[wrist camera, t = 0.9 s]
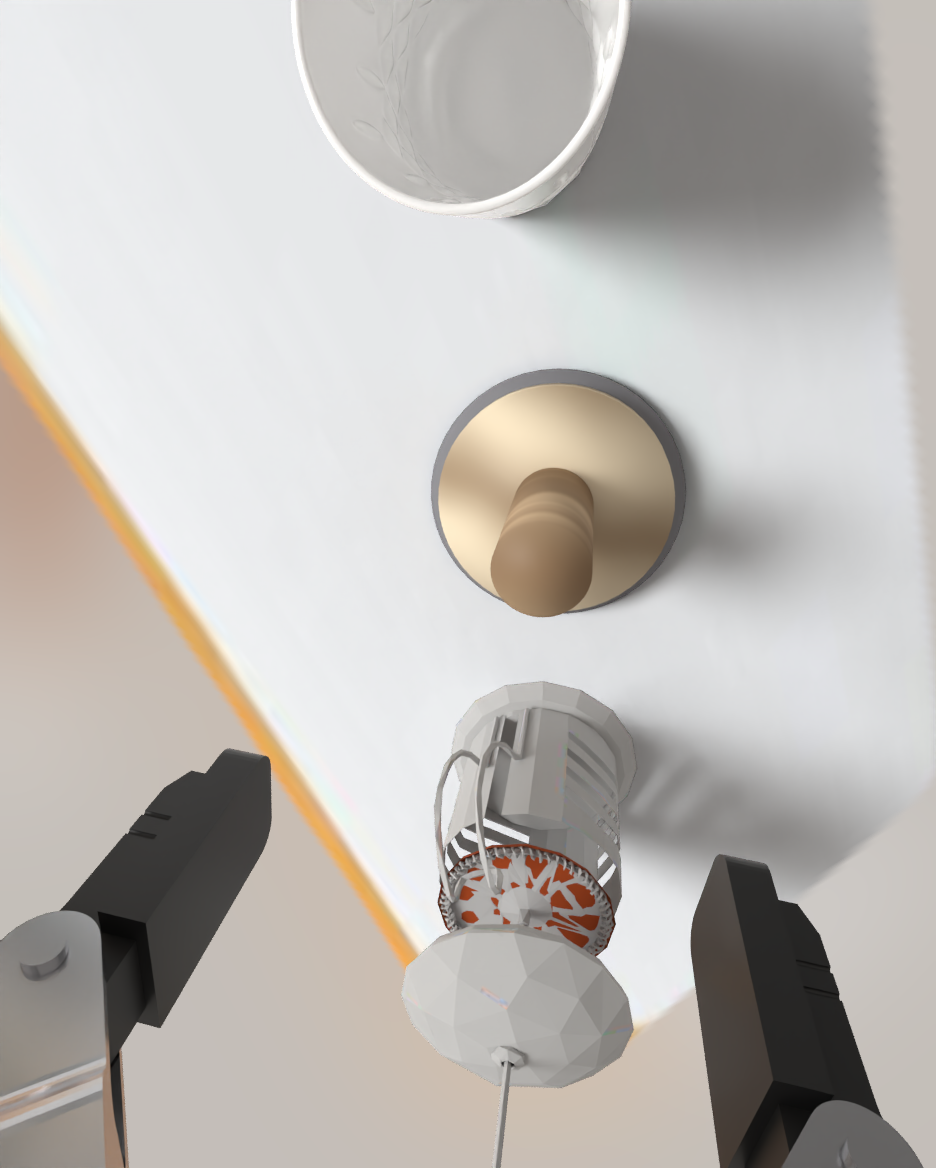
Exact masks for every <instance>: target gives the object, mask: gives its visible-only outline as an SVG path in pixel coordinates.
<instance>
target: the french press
mask: <svg viewBox="0 0 936 1168" xmlns="http://www.w3.org/2000/svg"><path fill="white" fill-rule="evenodd" d="M451 754H452V756H451V757H450V758H449V759H448V761H447V762H446V763H445V765H444V768H443V771H442V774H441V778H440V781H439V784H438V788H437V793H436V799H435V805H434V815H435V837H436V848H437V859H438V868H439V871H440V885H441V888H440V893H439V898H438V906H439V909H440V911H441V914H442V917H443V920H444V923H445V926H446V928H447V929H448V930H449V931H450V932H451V933H448V934H445V935H442V936H440V937H439V938H438V939H436V940H435V941H434V942H433V943H432V944H431V945H430V946H429V947H428V948H427V949H425V950H424V951H423V952H422V953H421V954H420V955H419V956H418V957H417V958H416V959H415V960H414V961H412V962H411V963H410V964H409V965H408V966H407V967H406V972H405V977H404V983H403V988H402V993H401V996H402V999H403V1001H404V1004H405V1007H406V1010H407V1012H408V1015H409V1018H410V1020H411V1023H412V1025H413V1026H414V1027H415V1028H416V1029H417V1030H418V1031H419V1032H420V1033H421V1034H422V1035H423V1037H424V1038H425V1039H426V1040H427V1041H428V1042H429V1043H430V1044H431V1045H432V1046H433V1047H434V1048H435V1050H436V1051H438V1053H439V1054H440V1055H441V1056H444V1057H445V1058H447V1059H449V1060H450V1061H452V1062H454V1063H456V1064H458V1065H459V1066H461V1067H463V1068H465V1069H467V1070H469V1071H470V1072H472V1073H474V1074H476V1075H478V1076H479V1077H481V1078H483V1079H485V1080H487V1081H489V1082H490V1083H492V1084H494V1085H496V1086H501V1094H500V1103H499V1112H498V1120H497V1129H496V1137H495V1146H494V1154H493V1163H492V1168H500V1167H501V1157H502V1148H503V1139H504V1129H505V1120H506V1111H507V1101H508V1092H509V1086H515V1087H544V1088H545V1087H546V1088H562V1087H565V1086H568V1085H570V1084H573V1083H575V1082H578V1081H580V1080H583V1079H585V1078H588V1077H591V1076H593V1075H594V1074H596V1073H597V1072H599V1071H601V1070H602V1069H603V1068H605V1067H606V1066H608V1065H609V1064H611V1063H612V1062H614V1061H615V1060H617V1059H618V1058H620V1057H621V1055H622V1053H623V1051H624V1049H625V1047H626V1045H627V1043H628V1041H629V1039H630V1036H631V1034H632V1032H633V1030H634V1029H633V1023H632V1018H631V1012H630V1007H629V1001H628V997H627V996H626V994H625V992H624V991H623V989H622V987H621V986H620V985H619V984H618V982H617V981H616V980H615V979H614V977H613V976H612V975H611V973H610V972H609V971H608V970H607V968H606V967H605V966H604V965H603V963H602V962H601V961H600V960H599V959H598V958H597V957H596V956H597V955H598V954H600V953H601V952H602V951H603V950H604V949H606V948H607V946H608V943H609V941H610V938H611V935H612V933H613V930H614V927H615V925H616V923H615V918H614V916H615V913H616V910H617V908H618V905H619V902H620V900H621V897H622V889H621V858H620V853H619V850H620V837H619V814H618V809H619V806H618V804H619V803H620V802H621V801H623V800H624V799H625V798H626V797H627V795H628V792H629V789H630V787H631V784H632V781H633V778H634V775H635V772H636V770H637V766H636V760H635V753H634V747H633V741H632V737H631V736H630V735H629V733H628V732H627V730H626V729H625V728H624V726H623V725H622V723H621V722H620V721H619V719H618V718H617V716H616V715H615V714H614V712H613V711H612V710H611V709H609V708H608V707H606V706H605V705H603V704H601V703H600V702H598V701H597V700H595V699H594V698H592V697H590V696H589V695H587V694H586V693H584V692H583V691H581V690H577V689H573V688H569V687H564V686H560V685H556V684H552V683H547V682H534V683H524V684H514V685H506V686H504V687H502V688H500V689H498V690H496V691H494V692H492V693H490V694H488V695H486V696H484V697H482V698H480V699H478V700H476V701H475V702H474V703H473V705H472V706H471V707H470V708H469V710H468V711H467V712H466V713H465V715H464V716H463V717H462V718H461V720H460V721H459V722H458V723H457V725H456V730H455V735H454V740H453V746H452V751H451ZM453 762H454V764H455V768H456V771H457V775H458V778H459V781H460V782H461V783H460V788H459V792H458V795H457V798H456V802H455V806H454V811H453V814H452V818H451V821H450V824H449V828H448V833H447V836H446V839H445V843H444V847H443V844H442V834H441V805H442V791H443V787H444V784H445V781H446V778H447V775H448V772H449V770H450V768H451V766H452V764H453ZM612 810H613V811H612ZM611 811H612V813H611V815H609V813H610V812H611ZM615 816H616V817H617V822H615V821H614V818H615ZM484 818H486V819H488V820H490V821H493V822H495V823H498V824H500V825H503V826H505V827H508V828H510V829H513V830H515V831H517V832H520V833H522V834H525V835H527V836H530V837H529V844H527V843H524V842H522V841H519V840H517V839H514V838H512V837H509V836H507V835H504V834H502V833H499V832H497V831H495V830H492V829H490V828H487V827H484V826H483V819H484ZM600 819H603V820H604V821H605V822H604V823H603V824H602V826H601V827H599V826H598V821H599V820H600ZM609 827H610V828H611V829H612V832H611V834H610V835H609V836H608V835H607V834H606V833H605V831H606V830H607V829H608V828H609ZM462 828H465V829H467V830H469V831H472V832H474V833H476V834H477V840H478V843H476V842H473V841H471V840H468V839H465V838H464V837H463V835H462V833H461V832H460V831H461V830H462ZM616 835H617V839H618V841H617V843H616V844H615V843H614V842H613V840H614V838H615V836H616ZM454 837H455V839H456V841H457V843H458V845H459V847H460V848H462V849H465V850H467V851H469V852H471V854H469V855H466V856H464V857H463V858H462V859H461V858H459V857H458V855H457V853H456V851H455V849H454V848H453V846H452V844H451V840H452V839H453V838H454ZM484 837H485V838H487V839H490V840H492V841H495V842H498V843H500V844H503V845H491V846H489V847H486V846H485V839H484ZM598 845H599V846H600V847H599V848H598ZM446 846H447V854H448V856H449V858H450V860H451V861H452V863H453V865H454V867H453V868H452V869H451V870H450V871H448V869H447V867H446V866H445V850H446ZM604 852H606V853H607V854H608V856H609V857H608V858H607V859H606V860H605V862H604V863H603V864H602V865H601V866H600V867H599V869H598V859H599V858H600V857H601V856H602V855H603V853H604ZM613 863H614V864H615V866H616V869H615V871H614V873H613V875H612V877H611V878H610V879H609V880H608V881H607V882H606V883H605V885H604V886H603V887H601V886H600V884H599V883H598V880H599V879H600V878H601V877H602V876H603V875H604V874H605V872H606V871H607V870H608V869H609V868H610V867H611V865H612V864H613Z"/></svg>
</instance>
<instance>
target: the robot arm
mask: <svg viewBox="0 0 936 1168" xmlns="http://www.w3.org/2000/svg"><path fill="white" fill-rule="evenodd" d="M271 818H272V816H271V764H270V760H269V758H268V757H267V756H263V755H258V754H253V753H249V752H244V751H239V750H234V749H230V748H229V749H226V750H224V751H223V752H222V753H221V755H220V756H219V757H218V758H217V759H216V761H215V762H214V763H213V765H212V766H211V767H210V769H209V770H208V771H207V773H205V774H204V773H199V772H195V771H191V772H189V773H187V774H186V775H184V776H182V777H181V778H179V779H178V780H176V781H174V782H173V783H171V784H170V785H168V786H166V787H165V788H164V789H163V790H162V791H161V792H160V793H159V795H158V796H157V797H156V798H155V799H154V801H153V802H152V803H151V804H150V805H149V807H148V808H147V809H146V810H145V814H144V815H141V816H140V817H139V818H138V820H137V821H136V822H135V823H134V825H133V826H132V827H131V828H130V831H129V833H128V834H125V835H124V836H123V838H122V839H121V840H120V841H119V842H118V843H117V844H116V846H115V847H114V848H113V849H112V850H111V852H110V853H109V854H108V855H107V856H106V857H105V859H104V860H103V861H102V862H101V863H100V865H99V866H98V867H97V868H96V869H95V870H94V872H93V873H92V874H91V875H90V877H89V878H88V879H87V880H86V881H85V882H84V884H83V885H82V886H81V887H80V888H79V889H78V891H77V892H76V893H75V894H74V896H73V897H72V898H71V899H70V900H69V901H68V902H67V903H66V905H65V906H64V907H63V908H62V909H61V910H60V911H56V912H51V913H47V914H43V915H40V916H37V917H35V918H33V919H31V920H28V921H26V922H25V923H23V924H21V925H20V926H18V927H16V928H15V929H14V930H13V931H11V932H10V933H8V934H7V935H6V936H5V937H4V938H3V939H2V940H0V1168H129V1163H128V1147H127V1129H126V1113H125V1097H124V1081H123V1066H122V1065H123V1064H122V1051H121V1047H122V1045H123V1044H124V1042H125V1040H126V1039H127V1037H128V1036H129V1034H130V1032H131V1031H132V1029H133V1027H134V1026H135V1024H136V1023H137V1022H139V1023H143V1024H147V1025H151V1026H154V1027H158V1028H161V1026H162V1024H163V1022H164V1021H165V1019H166V1017H167V1016H168V1014H169V1012H170V1010H171V1008H172V1007H173V1005H174V1004H175V1002H176V1000H177V998H178V997H179V995H180V993H181V992H182V990H183V988H184V986H185V984H186V983H187V981H188V979H189V978H190V976H191V974H192V972H193V971H194V969H195V967H196V966H197V964H198V962H199V961H200V959H201V957H202V955H203V953H204V952H205V950H206V948H207V947H208V945H209V943H210V942H211V940H212V938H213V936H214V935H215V933H216V931H217V930H218V928H219V926H220V924H221V923H222V921H223V919H224V917H225V916H226V914H227V912H228V910H229V909H230V907H231V905H232V904H233V902H234V900H235V899H236V897H237V895H238V893H239V892H240V890H241V888H242V886H243V885H244V883H245V881H246V880H247V878H248V876H249V874H250V873H251V871H252V869H253V868H254V866H255V864H256V862H257V861H258V859H259V857H260V855H261V854H262V852H263V849H264V847H265V845H266V842H267V839H268V836H269V832H270V827H271ZM691 957H692V964H693V972H694V979H695V986H696V994H697V1001H698V1008H699V1016H700V1023H701V1030H702V1038H703V1045H704V1052H705V1060H706V1067H707V1074H708V1081H709V1089H710V1096H711V1103H712V1110H713V1118H714V1125H715V1133H716V1140H717V1148H718V1155H719V1162H720V1168H923V1166H922V1164H921V1163H920V1161H919V1159H918V1157H917V1156H916V1154H915V1152H914V1151H913V1150H912V1148H911V1147H910V1146H909V1144H908V1143H907V1142H906V1141H905V1140H904V1138H903V1137H902V1136H901V1135H900V1134H899V1133H898V1132H897V1131H896V1130H895V1129H894V1128H893V1127H892V1126H891V1125H890V1124H889V1123H887V1122H886V1121H885V1120H883V1118H882V1116H881V1114H880V1112H879V1109H878V1107H877V1104H876V1101H875V1098H874V1095H873V1092H872V1089H871V1086H870V1083H869V1080H868V1077H867V1075H866V1072H865V1069H864V1066H863V1062H862V1060H861V1057H860V1054H859V1051H858V1048H857V1045H856V1042H855V1039H854V1036H853V1033H852V1030H851V1027H850V1024H849V1021H848V1018H847V1015H846V1012H845V1009H844V1006H843V1003H842V1001H840V1000H839V991H838V988H837V985H836V982H835V979H834V976H833V974H832V973H830V964H829V961H828V958H827V955H826V952H825V949H824V946H823V943H822V940H821V937H820V935H819V933H818V932H817V931H816V929H815V928H814V926H813V925H812V924H811V922H810V921H809V920H808V918H807V917H806V915H805V914H804V913H803V911H802V910H801V909H800V907H799V906H798V904H794V903H790V902H785V901H780V900H778V897H777V894H776V890H775V887H774V883H773V880H772V876H771V873H770V870H769V868H768V866H767V865H766V864H764V863H760V862H755V861H750V860H746V859H741V858H736V857H731V856H727V855H722V854H719V855H718V856H717V857H716V858H715V860H714V862H713V865H712V868H711V870H710V873H709V876H708V879H707V881H706V884H705V887H704V889H703V892H702V895H701V898H700V900H699V903H698V906H697V908H696V911H695V914H694V918H693V922H692V929H691Z"/></svg>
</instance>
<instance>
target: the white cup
mask: <svg viewBox="0 0 936 1168" xmlns="http://www.w3.org/2000/svg"><path fill="white" fill-rule="evenodd" d="M630 14H631V0H291V15H292V31H293V40H294V47H295V53H296V58H297V63H298V68H299V72H300V76H301V79H302V83H303V86H304V89H305V92H306V95H307V97H308V100H309V102H310V105H311V107H312V110H313V112H314V114H315V116H316V118H317V120H318V122H319V124H320V126H321V128H322V130H323V131H324V133H325V135H326V137H327V138H328V140H329V141H330V143H331V144H332V146H333V147H334V149H335V150H336V151H337V153H338V154H339V155H340V156H341V158H342V159H343V160H344V161H345V162H346V164H347V165H348V166H349V167H350V168H351V169H352V170H353V171H354V172H355V173H356V174H357V175H358V176H359V177H360V178H361V179H363V180H364V181H365V182H366V183H367V184H369V185H370V186H371V187H373V188H374V189H375V190H377V191H378V192H380V193H381V194H383V195H385V196H386V197H388V198H390V199H392V200H394V201H396V202H398V203H400V204H402V205H405V206H407V207H410V208H413V209H416V210H420V211H423V212H428V213H433V214H440V215H450V216H457V217H463V218H472V219H496V218H504V217H511V216H515V215H520V214H523V213H525V212H528V211H530V210H533V209H536V208H539V207H543V206H545V205H547V204H548V203H549V202H550V201H551V200H552V199H553V198H554V197H555V196H556V195H557V194H559V193H560V192H561V191H562V190H563V189H564V188H565V187H566V186H567V185H568V184H569V183H570V182H571V181H572V180H574V179H575V178H576V177H577V176H578V175H579V173H580V171H581V169H582V166H583V164H584V163H585V161H586V160H587V158H588V156H589V155H590V153H591V151H592V149H593V147H594V145H595V143H596V141H597V139H598V137H599V134H600V132H601V129H602V127H603V124H604V121H605V119H606V116H607V113H608V109H609V106H610V103H611V99H612V95H613V91H614V88H615V84H616V80H617V77H618V73H619V70H620V67H621V63H622V59H623V55H624V51H625V47H626V42H627V36H628V30H629V23H630Z"/></svg>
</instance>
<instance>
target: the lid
mask: <svg viewBox="0 0 936 1168" xmlns="http://www.w3.org/2000/svg"><path fill="white" fill-rule="evenodd" d="M438 505H439V514H440V520H441V524H442V528H443V532H444V534H445V537H446V539H447V542H448V545H449V546H450V548H451V550H452V552H453V554H454V556H455V557H456V559H457V560H458V561H459V563H460V564H461V566H462V567H463V568H464V569H465V570H466V572H467V573H468V574H469V575H470V576H471V577H472V578H473V579H474V580H475V581H476V582H478V583H479V584H480V585H481V586H482V587H484V588H485V589H487V590H488V591H490V592H491V593H493V594H494V595H496V596H498V597H500V598H502V599H503V600H504V602H505V603H507V604H508V605H509V606H510V607H512V608H513V609H515V610H517V611H519V612H521V613H523V614H526V615H530V616H535V617H551V616H556V615H560V614H562V613H565V612H567V611H573V610H580V609H584V608H588V607H593V606H595V605H598V604H601V603H604V602H606V601H608V600H610V599H612V598H614V597H616V596H618V595H620V594H621V593H623V592H624V591H626V590H627V589H629V588H630V587H632V586H633V585H634V584H635V583H636V582H637V581H638V580H640V579H641V578H642V577H643V576H644V575H645V574H646V572H647V571H648V570H649V569H650V568H651V567H652V565H653V564H654V562H655V561H656V559H657V558H658V556H659V555H660V553H661V552H662V549H663V547H664V545H665V543H666V541H667V539H668V536H669V533H670V530H671V527H672V522H673V517H674V511H675V489H674V480H673V476H672V472H671V468H670V464H669V462H668V459H667V457H666V454H665V452H664V449H663V447H662V445H661V443H660V442H659V440H658V438H657V436H656V435H655V433H654V432H653V430H652V429H651V428H650V427H649V425H648V424H647V423H646V422H645V420H644V419H643V418H641V417H640V416H639V415H638V414H637V413H636V412H635V411H634V410H633V409H632V408H630V407H629V406H627V405H626V404H625V403H623V402H622V401H620V400H619V399H617V398H615V397H613V396H611V395H609V394H607V393H605V392H602V391H599V390H596V389H594V388H591V387H586V386H582V385H577V384H568V383H548V384H539V385H534V386H529V387H525V388H522V389H519V390H516V391H513V392H510V393H508V394H506V395H504V396H503V397H501V398H499V399H497V400H495V401H494V402H492V403H491V404H489V405H488V406H486V407H485V408H484V409H483V410H481V411H480V412H479V413H478V414H477V415H476V416H475V417H474V418H473V419H472V420H471V421H470V422H469V423H468V425H467V426H466V427H465V428H464V429H463V430H462V432H461V433H460V434H459V436H458V437H457V439H456V440H455V442H454V444H453V445H452V447H451V449H450V451H449V453H448V455H447V458H446V460H445V463H444V466H443V469H442V473H441V477H440V484H439V497H438Z"/></svg>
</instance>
